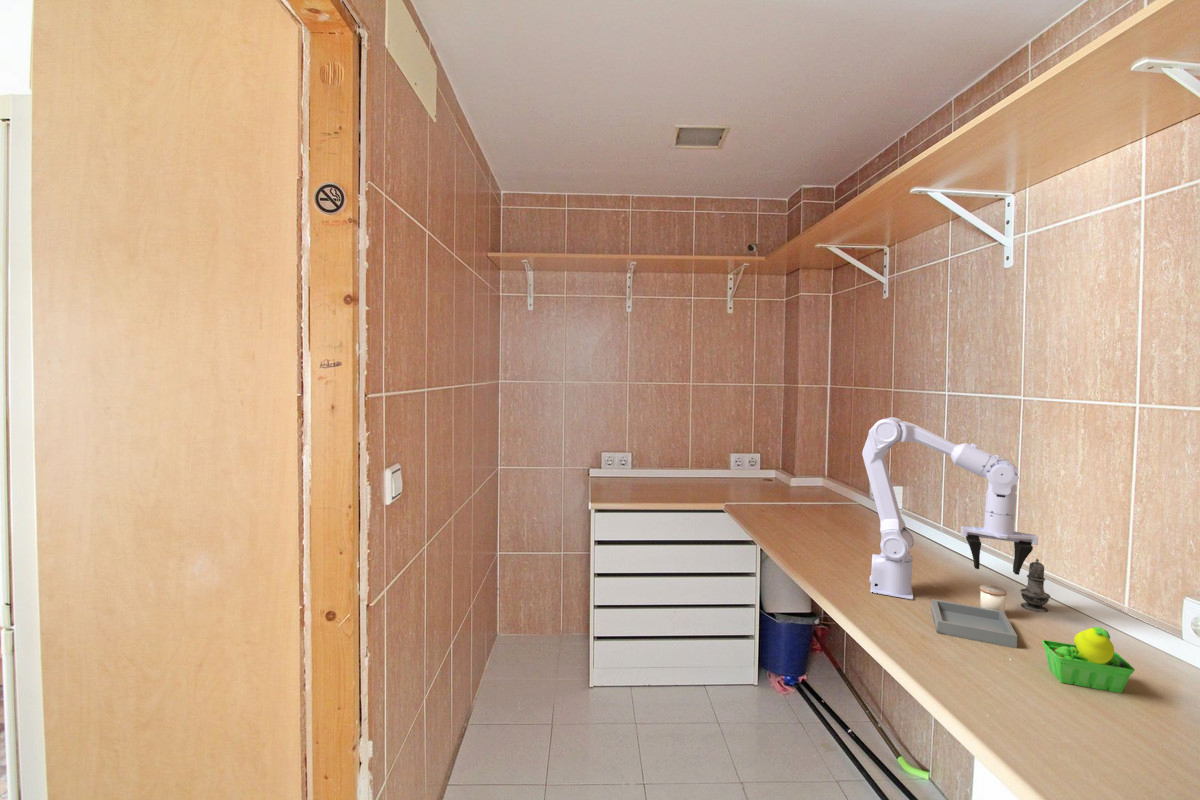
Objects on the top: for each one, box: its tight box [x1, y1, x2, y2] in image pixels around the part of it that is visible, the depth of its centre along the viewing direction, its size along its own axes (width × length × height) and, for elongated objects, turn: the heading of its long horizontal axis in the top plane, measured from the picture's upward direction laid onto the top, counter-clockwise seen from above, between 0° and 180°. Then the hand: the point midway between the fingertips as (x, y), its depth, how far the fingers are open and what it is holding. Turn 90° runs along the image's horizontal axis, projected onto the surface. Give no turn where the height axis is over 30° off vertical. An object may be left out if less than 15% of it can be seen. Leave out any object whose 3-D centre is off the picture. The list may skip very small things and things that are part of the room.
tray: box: [930, 598, 1018, 649], centre depth 125 cm, size 14×14×2 cm
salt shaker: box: [1019, 558, 1051, 613], centre depth 137 cm, size 6×6×12 cm
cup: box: [979, 584, 1008, 614], centre depth 133 cm, size 5×5×6 cm
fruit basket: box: [1041, 626, 1135, 694], centre depth 103 cm, size 11×9×11 cm
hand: (996, 570), depth 133 cm, fingers open, 7 cm apart
